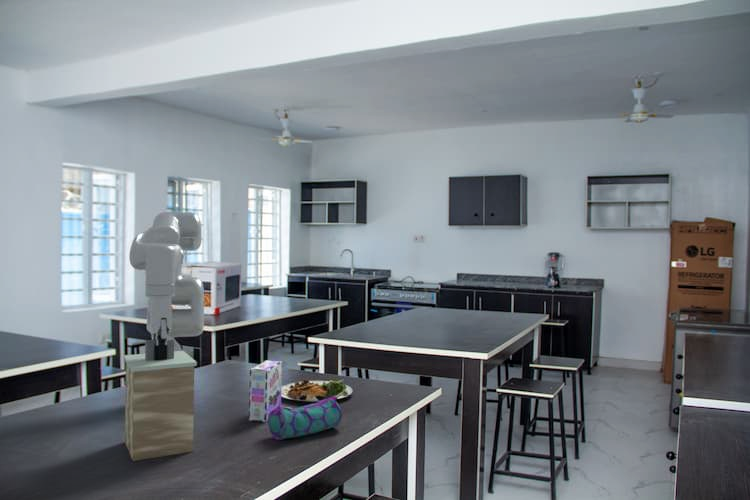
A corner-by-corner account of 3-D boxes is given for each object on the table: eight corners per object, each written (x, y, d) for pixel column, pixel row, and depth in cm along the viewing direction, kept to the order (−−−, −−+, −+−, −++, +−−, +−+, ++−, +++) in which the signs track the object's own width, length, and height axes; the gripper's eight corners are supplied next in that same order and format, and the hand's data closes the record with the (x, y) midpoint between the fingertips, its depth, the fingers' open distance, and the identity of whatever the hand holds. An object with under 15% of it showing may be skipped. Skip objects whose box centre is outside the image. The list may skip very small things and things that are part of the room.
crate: (124, 442, 162) (125, 359, 161) (180, 433, 170) (181, 354, 169) (132, 461, 149) (133, 371, 149) (193, 451, 157) (194, 365, 156)
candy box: (265, 423, 181) (266, 370, 180) (248, 421, 182) (248, 368, 182) (281, 409, 195) (282, 360, 194) (265, 408, 196) (266, 359, 195)
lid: (123, 362, 162) (123, 337, 161) (183, 357, 170) (183, 333, 170) (132, 375, 148) (132, 348, 148) (196, 369, 156) (197, 343, 156)
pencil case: (282, 445, 163) (283, 411, 163) (266, 436, 170) (267, 403, 169) (343, 430, 176) (343, 399, 176) (326, 422, 183) (327, 392, 183)
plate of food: (367, 393, 217) (367, 377, 217) (321, 411, 194) (321, 392, 194) (308, 383, 232) (308, 368, 232) (258, 399, 209) (258, 382, 209)
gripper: (140, 288, 163) (140, 354, 164) (150, 294, 149) (150, 366, 150) (168, 287, 167) (168, 351, 168) (181, 293, 153) (180, 363, 154)
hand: (159, 358), depth 159 cm, fingers closed on lid, 2 cm apart
